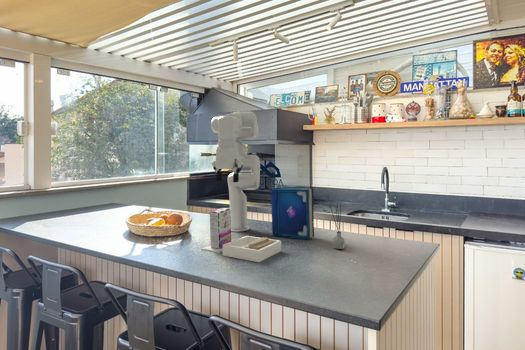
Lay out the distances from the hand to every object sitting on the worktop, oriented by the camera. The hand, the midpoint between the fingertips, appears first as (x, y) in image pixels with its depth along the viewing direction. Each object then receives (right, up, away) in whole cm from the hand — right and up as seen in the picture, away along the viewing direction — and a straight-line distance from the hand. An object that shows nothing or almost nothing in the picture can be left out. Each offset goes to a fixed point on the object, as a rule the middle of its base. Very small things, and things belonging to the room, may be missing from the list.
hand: (227, 181), depth 164 cm
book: (+31, -28, +17) cm, 45 cm away
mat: (-3, -30, -1) cm, 30 cm away
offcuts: (+16, -31, -14) cm, 37 cm away
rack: (+12, -30, -11) cm, 34 cm away
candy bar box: (-3, -29, -1) cm, 29 cm away
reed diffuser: (+49, -30, -5) cm, 58 cm away
